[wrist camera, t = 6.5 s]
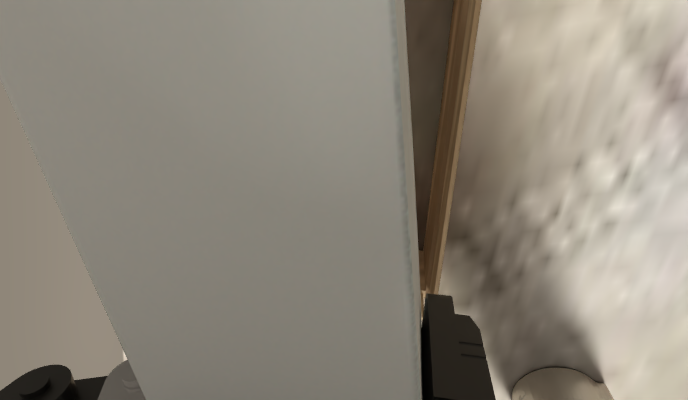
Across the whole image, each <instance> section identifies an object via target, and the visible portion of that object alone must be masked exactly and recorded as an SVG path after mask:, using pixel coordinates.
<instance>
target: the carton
mask: <svg viewBox="0 0 688 400" xmlns="http://www.w3.org/2000/svg"><path fill="white" fill-rule="evenodd" d="M481 2H482V0H454V3H453V11H452V19H451V27H450V36H449V44H448V52H447V60H446V69H445V77H444V85H443V93H442V101H441V110H440V118H439V126H438V134H437V143H436V151H435V159H434V167H433V176H432V184H431V192H430V200H429V209H428V217H427V225H426V233H425V241H424V250H423V251H420V250H418V254H419V274H420V295H421V319H422V320H423V313H424V304H423V298H426V294H427V293H429V294H438V291H439V285H440V278H441V271H442V264H443V258H444V251H445V244H446V237H447V231H448V224H449V217H450V211H451V204H452V197H453V190H454V184H455V177H456V170H457V163H458V157H459V150H460V143H461V136H462V130H463V123H464V116H465V110H466V103H467V96H468V89H469V83H470V76H471V69H472V62H473V56H474V49H475V42H476V35H477V29H478V22H479V15H480V9H481Z"/></svg>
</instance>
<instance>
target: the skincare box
mask: <svg viewBox="0 0 688 400" xmlns="http://www.w3.org/2000/svg"><path fill="white" fill-rule="evenodd" d="M0 80H1V82H2V85H3V87H4V89H5V91H6V93H7V95H8V98H9V100H10V102H11V104H12V106H13V108H14V111H15V113H16V115H17V117H18V119H19V121H20V123H21V126H22V128H23V130H24V132H25V134H26V137H27V139H28V141H29V143H30V145H31V148H32V150H33V152H34V154H35V156H36V159H37V161H38V163H39V165H40V167H41V170H42V172H43V174H44V176H45V178H46V181H47V183H48V185H49V187H50V189H51V192H52V194H53V196H54V198H55V200H56V203H57V205H58V207H59V209H60V211H61V214H62V216H63V218H64V220H65V222H66V224H67V227H68V229H69V231H70V234H71V236H72V238H73V240H74V242H75V244H76V247H77V249H78V251H79V253H80V256H81V258H82V260H83V262H84V264H85V267H86V269H87V271H88V273H89V275H90V278H91V280H92V282H93V284H94V286H95V289H96V291H97V293H98V295H99V297H100V299H101V302H102V304H103V306H104V308H105V311H106V313H107V315H108V317H109V319H110V321H111V324H112V326H113V328H114V330H115V333H116V335H117V337H118V339H119V341H120V344H121V346H122V348H123V350H124V352H125V355H126V357H127V359H128V361H129V363H130V366H131V368H132V370H133V372H134V374H135V377H136V379H137V381H138V383H139V385H140V388H141V390H142V392H143V394H144V396H145V399H146V400H423V376H422V333H421V328H422V319H421V295H420V274H419V254H418V233H417V214H416V195H415V176H414V158H413V140H412V122H411V104H410V88H409V72H408V55H407V38H406V21H405V4H404V0H0Z"/></svg>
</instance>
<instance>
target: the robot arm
mask: <svg viewBox="0 0 688 400" xmlns="http://www.w3.org/2000/svg"><path fill="white" fill-rule="evenodd" d="M421 333H422V376H423V400H496V399H495V395H494V390H493V386H492V382H491V377H490V373H489V368H488V364H487V360H486V355H485V351H484V348H483V342H482V337H481V333H480V329H479V328H478V327H477V325H476V324H475V323H474V321H473V320H472V319H471V317H470V316H466V315H458V314H455V313H454V306H453V300H452V296H446V295H438V294H429V293H427V294H426V298H425V305H424V313H423V320H422V328H421ZM0 400H146V399H145V396H144V394H143V392H142V390H141V388H140V385H139V383H138V381H137V379H136V377H135V374H134V372H133V370H132V368H131V366H130V363H129V361H128V360H126V361H124V362H123V363H121V364H120V365H118V366H117V367H116V368H115V369H113V370H112V372H111V373H110V374H109V375H108V376H104V377H96V378H89V379H81V380H74V379H73V377H72V374H71V371H70V370H69V369H68V368H67V367H65V366H62V365H48V366H44V367H40V368H37V369H34V370H32V371H30V372H28V373H26V374H24V375H22V376H21V377H19V378H18V379H16V380H15V381H13V382H12V383H11V384H9V385H8V386H6V387H5V388H4V389H2V390H1V391H0ZM512 400H614V399H613V397H612V395H611V393H610V392H609V390H608V388H607V386H606V385H605V384H603V383H597V382H595V381H593V380H592V379H591V378H589V377H588V376H587V375H585V374H583V373H581V372H579V371H576V370H572V369H567V368H545V369H540V370H537V371H534V372H531V373H529V374H527V375H526V376H524V377H523V378H522V379H520V380H519V381H518V382H517V384H516V385H515V387H514V389H513V391H512Z"/></svg>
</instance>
